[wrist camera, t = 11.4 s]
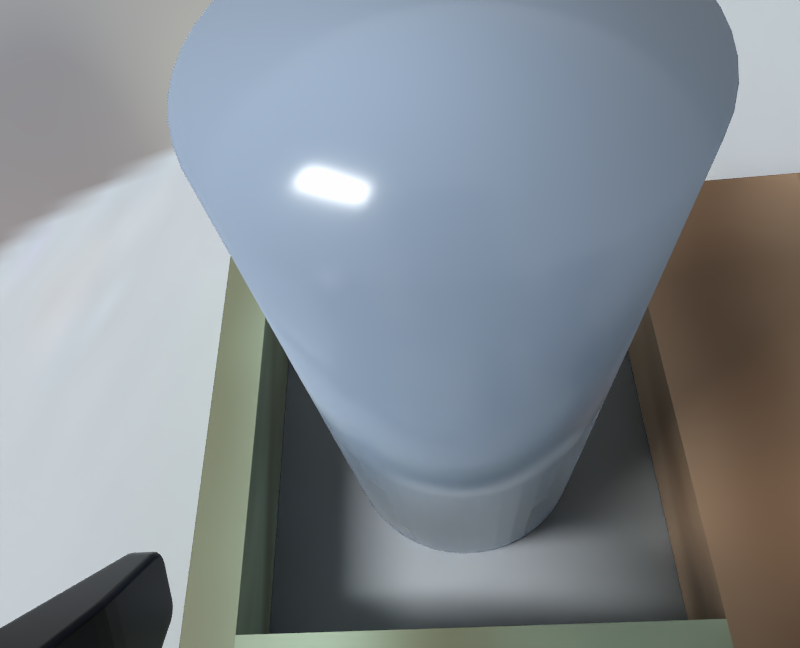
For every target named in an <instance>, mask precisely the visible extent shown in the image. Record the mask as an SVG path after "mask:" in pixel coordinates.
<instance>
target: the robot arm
mask: <svg viewBox="0 0 800 648" xmlns="http://www.w3.org/2000/svg"><path fill="white" fill-rule="evenodd" d="M172 610H173V604H172V597H171V593H170V588H169V583H168V578H167V574H166V569H165V564H164V561H163V558H162V556H161V555H160V554H158V553H157V552H142V553H131V554H128V555H126V556H124V557H122V558H121V559H119V560H117V561H116V562H114V563H112V564H110V565H109V566H107V567H105V568H103V569H102V570H100V571H98V572H97V573H95V574H93V575H91V576H90V577H88V578H86V579H84V580H83V581H81V582H79V583H78V584H76V585H74V586H72V587H71V588H69V589H67V590H65V591H64V592H62V593H60V594H59V595H57V596H55V597H53V598H52V599H50V600H48V601H46V602H45V603H43V604H41V605H40V606H38V607H36V608H34V609H33V610H31V611H29V612H27V613H26V614H24V615H22V616H21V617H19V618H17V619H15V620H14V621H12V622H10V623H8V624H7V625H5V626H3V627H2V628H0V648H162V646H163V643H164V640H165V637H166V634H167V631H168V628H169V625H170V622H171V618H172Z"/></svg>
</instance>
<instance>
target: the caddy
mask: <svg viewBox="0 0 800 648" xmlns="http://www.w3.org/2000/svg"><path fill="white" fill-rule="evenodd" d="M628 353H629V358H630V362H631V367H632V371H633V376H634V380H635V385H636V389H637V394H638V398H639V403H640V407H641V412H642V416H643V421H644V425H645V430H646V434H647V439H648V443H649V448H650V452H651V457H652V461H653V465H654V470H655V474H656V479H657V483H658V488H659V492H660V497H661V501H662V506H663V510H664V515H665V519H666V524H667V528H668V533H669V537H670V542H671V546H672V551H673V555H674V560H675V564H676V569H677V573H678V578H679V582H680V587H681V591H682V595H683V600H684V604H685V609H686V613H687V618H688V620H676V621H646V622H616V623H586V624H556V625H525V626H495V627H465V628H435V629H405V630H375V631H345V632H314V633H284V634H269V629H270V615H271V601H272V587H273V573H274V559H275V544H276V530H277V516H278V502H279V488H280V474H281V460H282V445H283V431H284V417H285V403H286V389H287V375H288V361H289V358H288V356H287V354H286V353H285V351H284V349H283V347H282V346H281V344H280V342H279V340H278V339H277V337H276V335H275V333H274V331H273V330H272V328H271V326H270V324H269V323H268V321H267V319H266V317H265V316H264V314H263V312H262V310H261V308H260V307H259V305H258V303H257V301H256V300H255V298H254V296H253V294H252V293H251V291H250V289H249V287H248V285H247V284H246V282H245V280H244V278H243V277H242V275H241V273H240V271H239V270H238V268H237V266H236V264H235V262H234V261H233V259H232V257H231V258H230V265H229V273H228V280H227V288H226V296H225V303H224V311H223V318H222V326H221V333H220V341H219V348H218V356H217V364H216V371H215V379H214V386H213V394H212V401H211V409H210V417H209V424H208V432H207V439H206V447H205V454H204V462H203V469H202V477H201V485H200V492H199V500H198V507H197V515H196V522H195V530H194V537H193V545H192V553H191V560H190V568H189V575H188V583H187V590H186V598H185V606H184V613H183V621H182V628H181V636H180V643H179V648H800V173H792V174H780V175H768V176H757V177H745V178H733V179H721V180H709V181H704V183H703V185H702V187H701V190H700V192H699V194H698V196H697V198H696V201H695V203H694V205H693V207H692V209H691V212H690V214H689V216H688V218H687V220H686V223H685V225H684V227H683V229H682V231H681V234H680V236H679V238H678V240H677V242H676V245H675V247H674V249H673V251H672V253H671V256H670V258H669V260H668V262H667V264H666V267H665V269H664V271H663V273H662V276H661V278H660V280H659V282H658V284H657V287H656V289H655V291H654V293H653V295H652V298H651V300H650V302H649V304H648V306H647V309H646V311H645V313H644V315H643V317H642V320H641V322H640V324H639V326H638V328H637V331H636V333H635V335H634V337H633V339H632V342H631V344H630V346H629V348H628Z"/></svg>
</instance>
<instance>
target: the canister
mask: <svg viewBox="0 0 800 648" xmlns="http://www.w3.org/2000/svg"><path fill="white" fill-rule="evenodd" d="M738 85H739V74H738V55H737V51H736V47H735V43H734V39H733V35H732V31H731V29H730V27H729V24H728V22H727V20H726V18H725V16H724V14H723V11H722V9H721V7H720V6H719V4H718V3H717V1H716V0H214V1H213V2H212V3H211V4H210V5H209V6H208V8H207V9H206V10H205V12H204V13H203V14H202V16H201V17H200V18H199V20H198V21H197V22H196V24H195V25H194V26H193V28H192V30H191V32H190V34H189V35H188V37H187V39H186V41H185V42H184V44H183V46H182V48H181V50H180V53H179V56H178V58H177V61H176V63H175V66H174V69H173V72H172V77H171V82H170V87H169V92H168V124H169V130H170V136H171V141H172V145H173V148H174V151H175V153H176V156H177V158H178V161H179V163H180V166H181V169H182V170H183V172H184V174H185V176H186V178H187V179H188V181H189V183H190V185H191V186H192V188H193V190H194V192H195V193H196V195H197V197H198V199H199V201H200V202H201V204H202V206H203V208H204V209H205V211H206V213H207V215H208V216H209V218H210V220H211V222H212V224H213V225H214V227H215V229H216V231H217V232H218V234H219V236H220V238H221V239H222V241H223V243H224V245H225V247H226V248H227V250H228V252H229V254H230V255H231V257H232V259H233V261H234V262H235V264H236V266H237V268H238V270H239V271H240V273H241V275H242V277H243V278H244V280H245V282H246V284H247V285H248V287H249V289H250V291H251V293H252V294H253V296H254V298H255V300H256V301H257V303H258V305H259V307H260V308H261V310H262V312H263V314H264V316H265V317H266V319H267V321H268V323H269V324H270V326H271V328H272V330H273V331H274V333H275V335H276V337H277V339H278V340H279V342H280V344H281V346H282V347H283V349H284V351H285V353H286V354H287V356H288V358H289V360H290V362H291V363H292V365H293V367H294V369H295V370H296V372H297V374H298V376H299V377H300V379H301V381H302V383H303V385H304V386H305V388H306V390H307V392H308V393H309V395H310V397H311V399H312V400H313V402H314V404H315V406H316V408H317V409H318V411H319V413H320V415H321V416H322V418H323V420H324V422H325V423H326V425H327V427H328V429H329V431H330V432H331V434H332V436H333V438H334V439H335V441H336V443H337V445H338V446H339V448H340V450H341V452H342V454H343V455H344V457H345V459H346V461H347V462H348V464H349V466H350V468H351V469H352V471H353V473H354V475H355V477H356V478H357V480H358V482H359V484H360V485H361V487H362V489H363V491H364V492H365V494H366V496H367V497H368V499H369V501H370V502H371V504H372V506H373V507H374V508H375V510H376V511H377V512H378V513H379V514H380V516H381V517H382V518H383V519H384V520H385V521H386V522H387V523H388V524H389V525H391V526H392V527H393V528H394V529H395V530H397V531H398V532H400V533H401V534H402V535H404V536H405V537H407V538H409V539H411V540H413V541H415V542H417V543H419V544H421V545H424V546H427V547H430V548H432V549H437V550H441V551H446V552H455V553H475V552H483V551H488V550H493V549H497V548H499V547H502V546H505V545H508V544H510V543H512V542H514V541H516V540H518V539H520V538H522V537H524V536H525V535H526V534H528V533H529V532H531V531H532V530H533V529H535V528H536V527H537V526H538V525H539V524H540V523H541V522H542V521H543V520H544V519H546V517H547V516H548V515H549V514H550V512H551V511H552V510H553V509H554V507H555V506H556V504H557V502H558V501H559V499H560V497H561V496H562V494H563V492H564V489H565V487H566V485H567V483H568V481H569V478H570V476H571V474H572V472H573V470H574V467H575V465H576V463H577V461H578V459H579V456H580V454H581V452H582V450H583V448H584V445H585V443H586V441H587V439H588V437H589V434H590V432H591V430H592V428H593V425H594V423H595V421H596V419H597V417H598V414H599V412H600V410H601V408H602V406H603V403H604V401H605V399H606V397H607V395H608V392H609V390H610V388H611V386H612V384H613V381H614V379H615V377H616V375H617V373H618V370H619V368H620V366H621V364H622V362H623V359H624V357H625V355H626V353H627V351H628V348H629V346H630V344H631V342H632V339H633V337H634V335H635V333H636V331H637V328H638V326H639V324H640V322H641V320H642V317H643V315H644V313H645V311H646V309H647V306H648V304H649V302H650V300H651V298H652V295H653V293H654V291H655V289H656V287H657V284H658V282H659V280H660V278H661V276H662V273H663V271H664V269H665V267H666V264H667V262H668V260H669V258H670V256H671V253H672V251H673V249H674V247H675V245H676V242H677V240H678V238H679V236H680V234H681V231H682V229H683V227H684V225H685V223H686V220H687V218H688V216H689V214H690V212H691V209H692V207H693V205H694V203H695V201H696V198H697V196H698V194H699V192H700V190H701V187H702V185H703V183H704V181H705V178H706V176H707V174H708V172H709V170H710V167H711V165H712V163H713V161H714V159H715V156H716V154H717V152H718V150H719V148H720V145H721V143H722V141H723V139H724V136H725V133H726V131H727V128H728V126H729V123H730V121H731V118H732V115H733V113H734V109H735V103H736V97H737V91H738Z"/></svg>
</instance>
